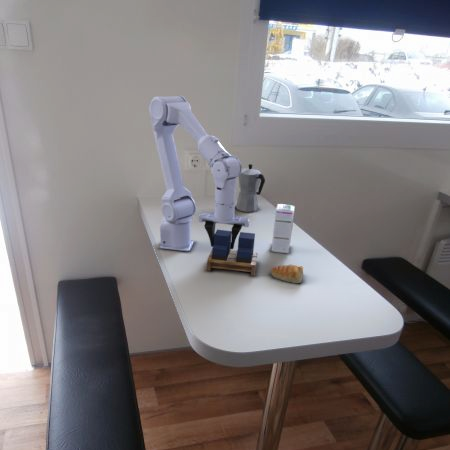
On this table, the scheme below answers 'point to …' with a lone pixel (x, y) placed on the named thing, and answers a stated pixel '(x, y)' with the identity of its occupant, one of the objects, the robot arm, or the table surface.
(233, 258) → the shoe rack
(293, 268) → the pastry
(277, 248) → the syrup box
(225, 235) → the blue block
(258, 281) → the table surface
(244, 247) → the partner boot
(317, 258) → the table surface
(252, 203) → the coffeepot
